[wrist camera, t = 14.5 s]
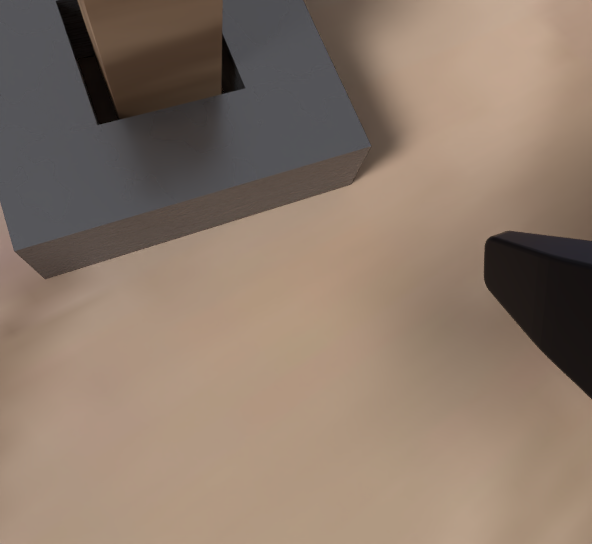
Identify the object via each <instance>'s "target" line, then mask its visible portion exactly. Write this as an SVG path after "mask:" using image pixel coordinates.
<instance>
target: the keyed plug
mask: <svg viewBox="0 0 592 544" xmlns="http://www.w3.org/2000/svg"><path fill="white" fill-rule="evenodd" d="M78 3H79V6H80V10H81V13H82V16H83V19H84V22H85V25H86V28H87V31H88V35H89V38H90V41H91V44H92V47H93V50H94V53H95V56H96V59H97V63H98V66H99V69H100V71H101V74H102V77H103V80H104V82H105V85H106V88H107V90H108V93H109V96H110V98H111V101H112V104H113V107H114V109H115V112H116V115H117V117H118V120H120V119H124V118H128V117H133V116H137V115H141V114H145V113H149V112H153V111H157V110H161V109H165V108H169V107H173V106H177V105H181V104H185V103H189V102H193V101H197V100H201V99H205V98H209V97H213V96H217V95H221V81H222V12H223V0H78Z"/></svg>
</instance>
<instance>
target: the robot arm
mask: <svg viewBox="0 0 592 544" xmlns="http://www.w3.org/2000/svg"><path fill="white" fill-rule="evenodd" d="M484 280H485V284H486V286H487V288H488V289H489V291H490V292H491V293H492V294H493V296H494V297H495V298H496V299H497V300H498V301H499V303H500V304H501V305H502V306H503V307H504V308H505V310H506V311H507V312H508V313H509V314H510V315H511V317H512V318H513V319H514V320H515V321H516V322H517V324H518V325H519V326H520V327H521V328H522V329H523V331H524V332H525V333H526V334H527V335H528V337H529V338H530V339H531V340H532V341H533V342H534V343H535V344H536V346H537V347H538V348H539V349H540V350H541V351H542V352H543V353H544V354H545V355H546V356H547V357H548V358H549V359H550V360H551V361H552V362H553V363H554V364H555V365H556V366H557V367H558V368H560V369H561V370H562V371H563V372H564V373H565V374H566V375H567V376H568V377H569V378H570V379H571V380H572V381H573V382H574V383H575V384H576V385H577V386H578V387H579V388H581V389H582V390H583V391H584V392H585V393H586V394H587V395H588V396H589V397H590V398H591V399H592V241H587V240H579V239H571V238H563V237H555V236H547V235H539V234H531V233H523V232H515V231H505V232H502V233H500V234H497V235H494V236H491V237H489V238H488V239H487V241H486V243H485V252H484Z"/></svg>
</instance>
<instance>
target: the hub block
mask: <svg viewBox="0 0 592 544" xmlns="http://www.w3.org/2000/svg"><path fill="white" fill-rule="evenodd" d="M91 55H95V53H94V50H93V47H92V44H91V41H90V38H89V35H88V31H87V28H86V25H85V22H84V19H83V16H82V13H81V10H80V6H79V3H78V0H0V202H1V206H2V209H3V213H4V216H5V220H6V224H7V227H8V231H9V234H10V238H11V242H12V245H13V249H14V251H15V252H16V253H17V254H18V255H19V256H20V257H21V258H22V259H23V260H25V261H26V262H27V263H28V264H29V265H30V266H31V267H32V268H33V269H34V270H36V271H37V272H38V273H39V274H40V275H41V276H42V277H43V278H44V279H47V278H50V277H53V276H57V275H60V274H63V273H66V272H69V271H73V270H76V269H79V268H82V267H86V266H89V265H92V264H95V263H99V262H102V261H105V260H108V259H111V258H115V257H118V256H121V255H124V254H128V253H131V252H134V251H137V250H140V249H144V248H147V247H150V246H153V245H157V244H160V243H163V242H166V241H170V240H173V239H176V238H179V237H182V236H186V235H189V234H192V233H195V232H199V231H202V230H205V229H208V228H212V227H215V226H218V225H221V224H224V223H228V222H231V221H234V220H237V219H241V218H244V217H247V216H250V215H253V214H257V213H260V212H263V211H266V210H270V209H273V208H276V207H279V206H283V205H286V204H289V203H292V202H295V201H299V200H302V199H305V198H308V197H312V196H315V195H318V194H321V193H325V192H328V191H331V190H334V189H337V188H341V187H344V186H347V185H350V184H351V183H352V181H353V179H354V178H355V176H356V174H357V172H358V170H359V168H360V166H361V165H362V163H363V161H364V159H365V157H366V155H367V153H368V152H369V150H370V148H371V144H370V142H369V140H368V138H367V136H366V134H365V132H364V129H363V127H362V125H361V123H360V121H359V119H358V117H357V114H356V112H355V110H354V108H353V106H352V104H351V102H350V100H349V97H348V95H347V93H346V91H345V89H344V87H343V85H342V82H341V80H340V78H339V76H338V74H337V72H336V70H335V67H334V65H333V63H332V61H331V59H330V57H329V55H328V53H327V50H326V48H325V46H324V44H323V42H322V40H321V38H320V35H319V33H318V31H317V29H316V27H315V25H314V23H313V20H312V18H311V16H310V14H309V12H308V10H307V8H306V5H305V3H304V1H303V0H223V12H222V81H221V85H222V87H223V90H224V92H225V94H221V95H217V96H213V97H209V98H205V99H201V100H197V101H193V102H189V103H185V104H181V105H177V106H173V107H169V108H165V109H161V110H157V111H153V112H149V113H145V114H141V115H137V116H133V117H128V118H124V119H120V120H116V121H112V122H108V123H104V124H100V125H99V122H98V119H97V116H96V113H95V110H94V107H93V104H92V101H91V99H90V96H89V93H88V90H87V87H86V84H85V81H84V78H83V75H82V72H81V69H80V66H79V63H78V60H77V59H78V58H82V57H87V56H91Z"/></svg>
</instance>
